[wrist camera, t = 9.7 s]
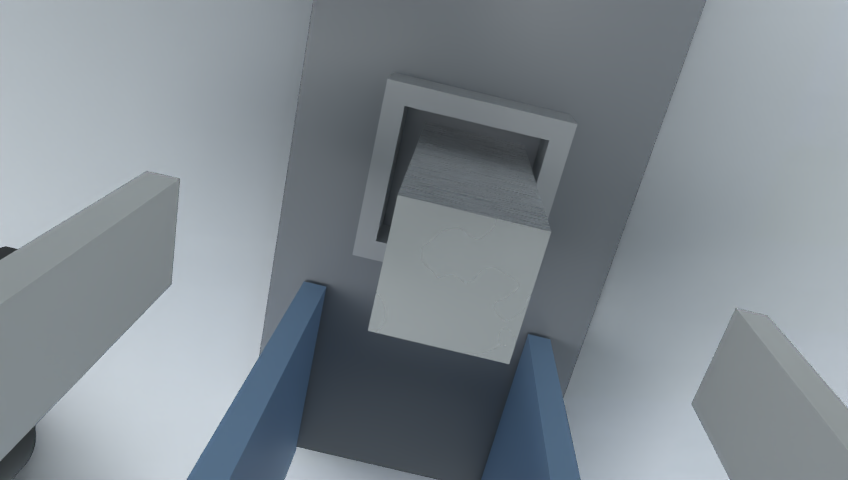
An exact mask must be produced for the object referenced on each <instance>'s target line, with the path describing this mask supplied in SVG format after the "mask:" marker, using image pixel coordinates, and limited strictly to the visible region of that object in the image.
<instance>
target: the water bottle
mask: <svg viewBox="0 0 848 480" xmlns="http://www.w3.org/2000/svg"><path fill="white" fill-rule="evenodd" d="M34 444H35V428H34V427H33V428H32V429H31V430H30V431H29V432H28V433H27V434H26V435H25V436H24V437H23V438H22V439H21V440H20V441H19V442H18V443H17V444H16V445H15V446H14V447H13V448H12V450H11V451H10V452H9V453H8V454H7V455H6V456H5V457H4V458H3V459H2V460H1V461H0V480H12V479H13V478H14V476H15V475H16V474H17V473H18V472H19V471H20V470H21V469H22V467H23V466H24V465H25V464H26V463H27V461H28V460H29V458H30V456H31V454H32V452H33V449H34Z"/></svg>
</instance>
